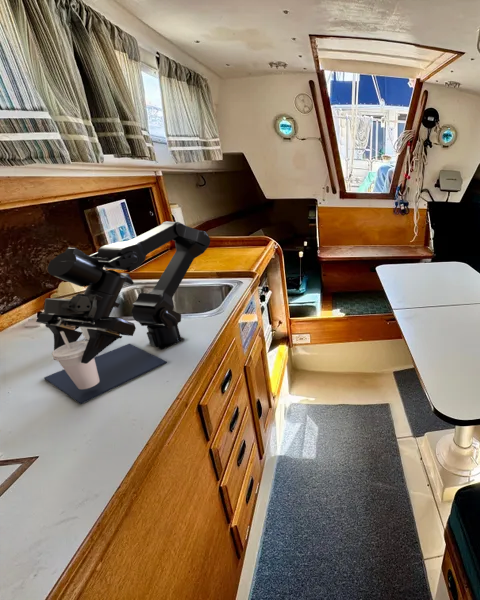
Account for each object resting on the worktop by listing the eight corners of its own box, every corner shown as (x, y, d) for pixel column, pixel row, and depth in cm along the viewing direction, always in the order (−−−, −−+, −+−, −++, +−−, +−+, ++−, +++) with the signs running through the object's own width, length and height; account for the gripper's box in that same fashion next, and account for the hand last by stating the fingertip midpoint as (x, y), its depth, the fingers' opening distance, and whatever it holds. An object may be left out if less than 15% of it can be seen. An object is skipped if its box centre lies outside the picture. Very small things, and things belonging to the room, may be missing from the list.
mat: (130, 344, 92) (129, 343, 92) (167, 362, 85) (166, 361, 85) (44, 379, 78) (43, 377, 77) (80, 404, 70) (79, 402, 70)
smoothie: (61, 393, 70) (33, 338, 65) (87, 374, 76) (63, 322, 70) (90, 393, 70) (65, 338, 65) (114, 375, 76) (92, 323, 71)
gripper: (26, 277, 68) (-15, 349, 63) (105, 283, 66) (69, 359, 61) (79, 296, 78) (48, 360, 73) (148, 302, 76) (121, 368, 71)
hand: (70, 361), depth 69 cm, fingers closed on smoothie, 6 cm apart
